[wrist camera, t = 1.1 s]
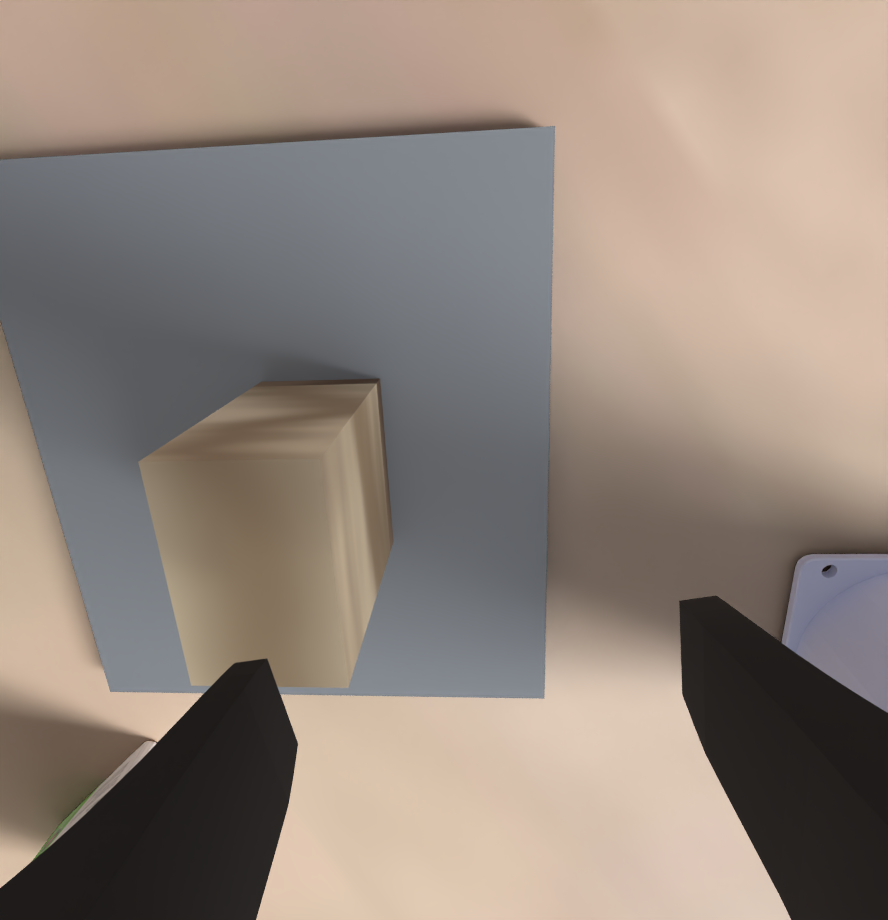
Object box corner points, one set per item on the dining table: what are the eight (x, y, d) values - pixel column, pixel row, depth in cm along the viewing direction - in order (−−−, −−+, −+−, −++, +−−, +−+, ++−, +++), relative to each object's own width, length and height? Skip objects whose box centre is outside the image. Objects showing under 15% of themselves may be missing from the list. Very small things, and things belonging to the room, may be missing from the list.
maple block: (380, 378, 20) (319, 459, 13) (393, 541, 22) (348, 687, 15) (260, 381, 20) (138, 461, 13) (285, 542, 22) (191, 685, 15)
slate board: (551, 131, 18) (554, 126, 17) (542, 680, 25) (544, 698, 24) (-21, 166, 19) (-47, 162, 18) (123, 675, 26) (110, 691, 25)
